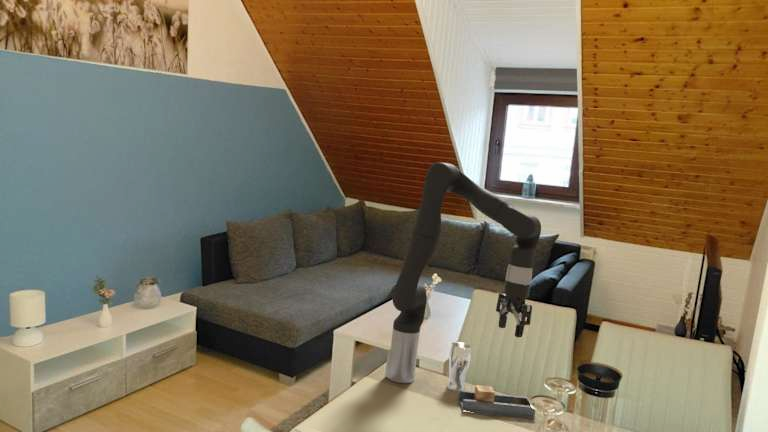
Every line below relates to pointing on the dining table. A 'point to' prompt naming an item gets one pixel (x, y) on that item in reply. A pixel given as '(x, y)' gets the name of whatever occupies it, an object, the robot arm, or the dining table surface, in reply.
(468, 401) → the chute
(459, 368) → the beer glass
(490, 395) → the oak block
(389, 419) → the dining table surface
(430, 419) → the dining table surface
